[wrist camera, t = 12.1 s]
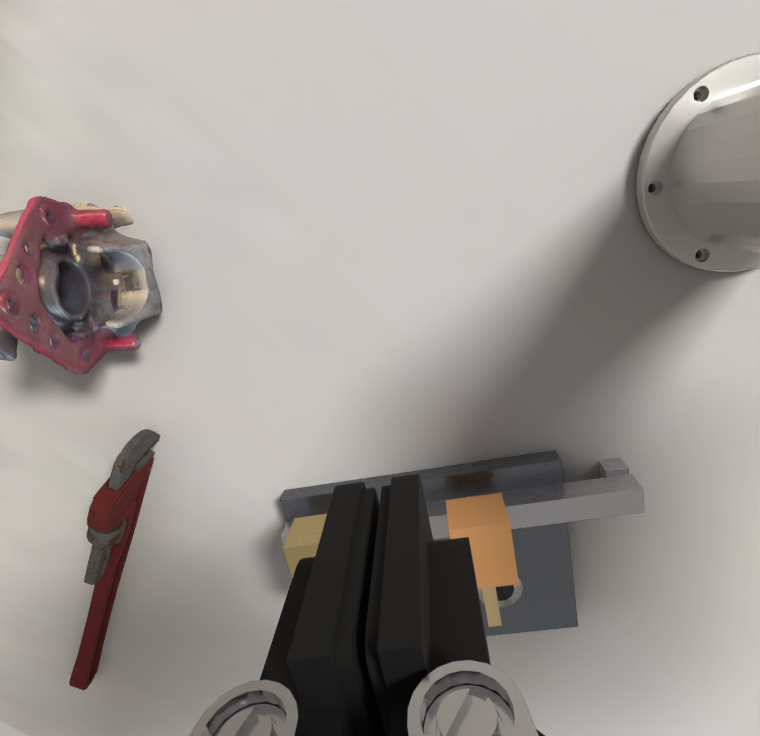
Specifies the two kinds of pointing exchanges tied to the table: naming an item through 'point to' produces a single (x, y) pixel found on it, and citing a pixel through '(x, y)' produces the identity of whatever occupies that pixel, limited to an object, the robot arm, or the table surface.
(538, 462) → the bolt plate
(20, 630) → the table surface
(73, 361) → the red grey carburetor
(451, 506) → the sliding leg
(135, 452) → the pipe wrench
